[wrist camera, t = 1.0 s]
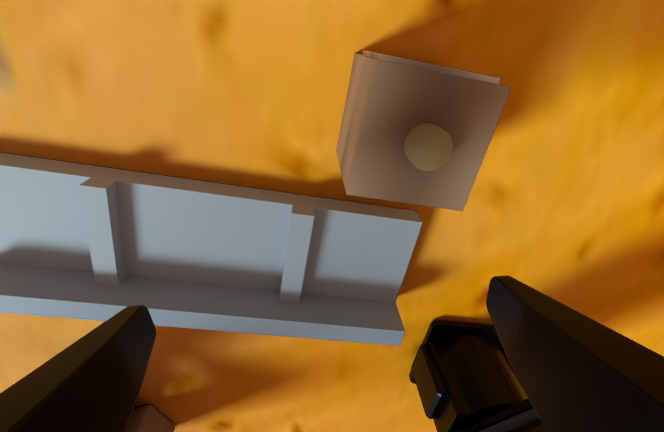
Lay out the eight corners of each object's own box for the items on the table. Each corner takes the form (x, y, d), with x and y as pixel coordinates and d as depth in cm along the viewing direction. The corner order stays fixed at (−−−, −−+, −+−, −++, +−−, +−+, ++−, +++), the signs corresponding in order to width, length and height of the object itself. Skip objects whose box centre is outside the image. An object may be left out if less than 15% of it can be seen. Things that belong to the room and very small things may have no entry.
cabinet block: (451, 67, 17) (526, 83, 11) (421, 164, 20) (470, 220, 14) (355, 48, 17) (381, 54, 11) (336, 150, 19) (348, 203, 13)
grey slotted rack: (415, 210, 21) (436, 246, 17) (386, 300, 24) (399, 346, 21) (-24, 149, 18) (-107, 177, 14) (10, 262, 21) (-51, 308, 17)
